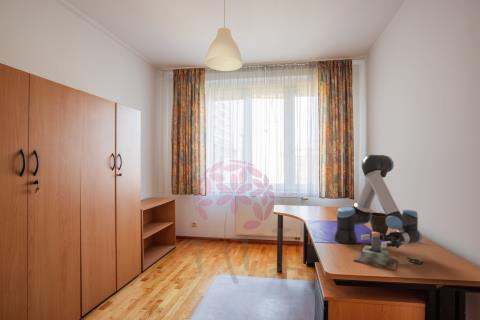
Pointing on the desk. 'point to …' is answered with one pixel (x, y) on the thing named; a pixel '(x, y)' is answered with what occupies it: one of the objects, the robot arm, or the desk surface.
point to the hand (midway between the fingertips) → (371, 241)
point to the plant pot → (379, 223)
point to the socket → (376, 258)
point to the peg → (375, 242)
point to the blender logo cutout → (415, 261)
